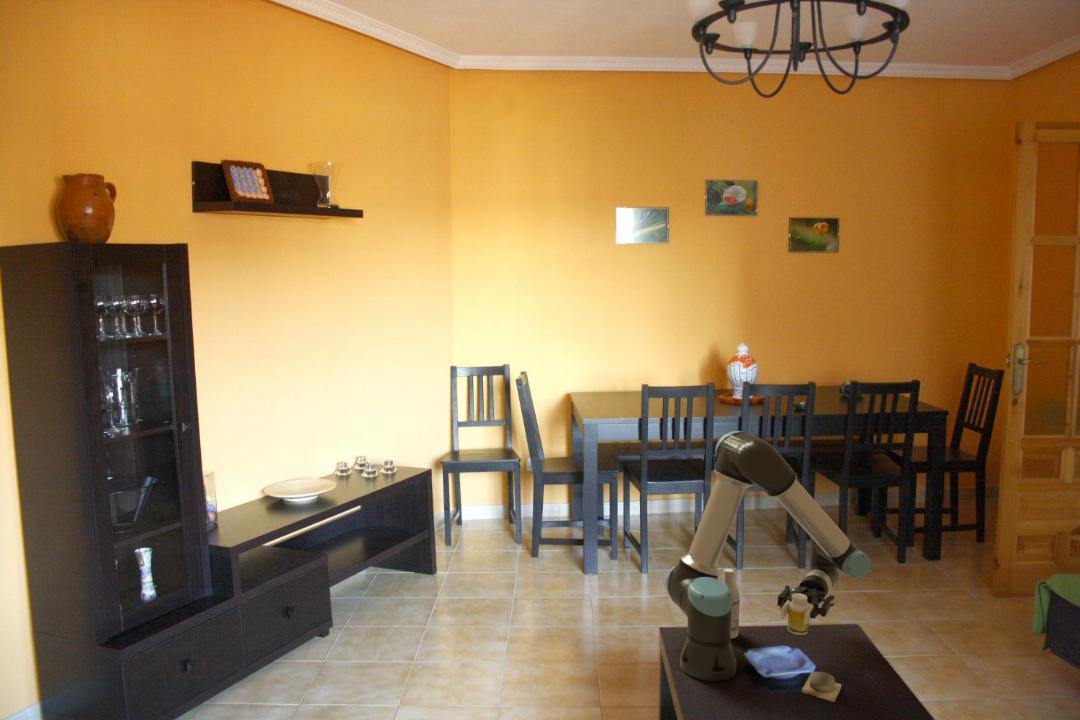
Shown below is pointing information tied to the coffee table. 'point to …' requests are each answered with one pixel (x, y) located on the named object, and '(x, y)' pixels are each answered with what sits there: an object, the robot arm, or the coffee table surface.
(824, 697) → the boss
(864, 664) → the coffee table surface
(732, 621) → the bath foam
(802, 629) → the supplement bottle
